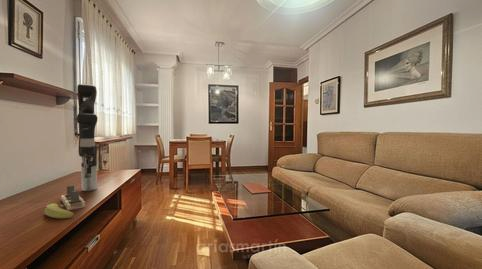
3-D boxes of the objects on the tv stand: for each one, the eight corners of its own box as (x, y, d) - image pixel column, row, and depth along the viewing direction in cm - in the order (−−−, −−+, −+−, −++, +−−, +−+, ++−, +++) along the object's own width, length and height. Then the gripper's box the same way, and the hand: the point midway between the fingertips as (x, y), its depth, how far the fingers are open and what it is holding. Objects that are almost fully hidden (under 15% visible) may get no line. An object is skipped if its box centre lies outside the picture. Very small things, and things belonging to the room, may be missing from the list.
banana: (41, 207, 106) (51, 200, 123) (37, 219, 105) (48, 210, 122) (75, 210, 112) (80, 202, 129) (71, 221, 111) (77, 212, 128)
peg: (83, 177, 136) (83, 161, 136) (90, 176, 139) (90, 160, 139) (85, 178, 134) (85, 162, 134) (92, 177, 137) (92, 161, 136)
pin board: (61, 200, 136) (61, 185, 136) (77, 197, 142) (77, 183, 141) (67, 210, 120) (67, 194, 120) (85, 206, 126) (84, 191, 125)
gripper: (76, 145, 137) (77, 172, 138) (84, 146, 128) (84, 175, 129) (90, 144, 143) (90, 170, 144) (98, 146, 134) (99, 173, 135)
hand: (87, 172), depth 136 cm, fingers closed on peg, 3 cm apart
